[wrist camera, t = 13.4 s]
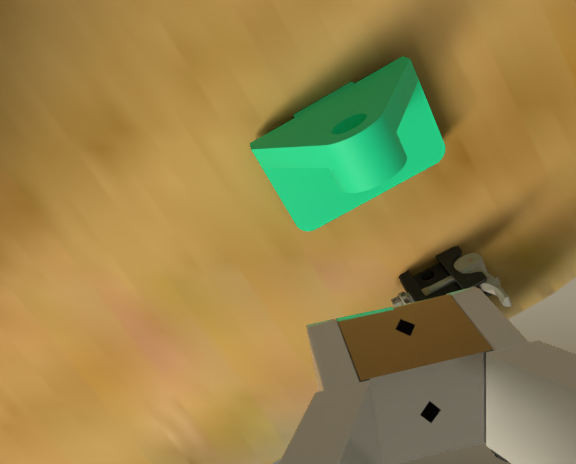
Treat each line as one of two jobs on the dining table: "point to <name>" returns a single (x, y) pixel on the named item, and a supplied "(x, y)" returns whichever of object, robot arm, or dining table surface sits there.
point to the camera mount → (351, 145)
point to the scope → (451, 281)
